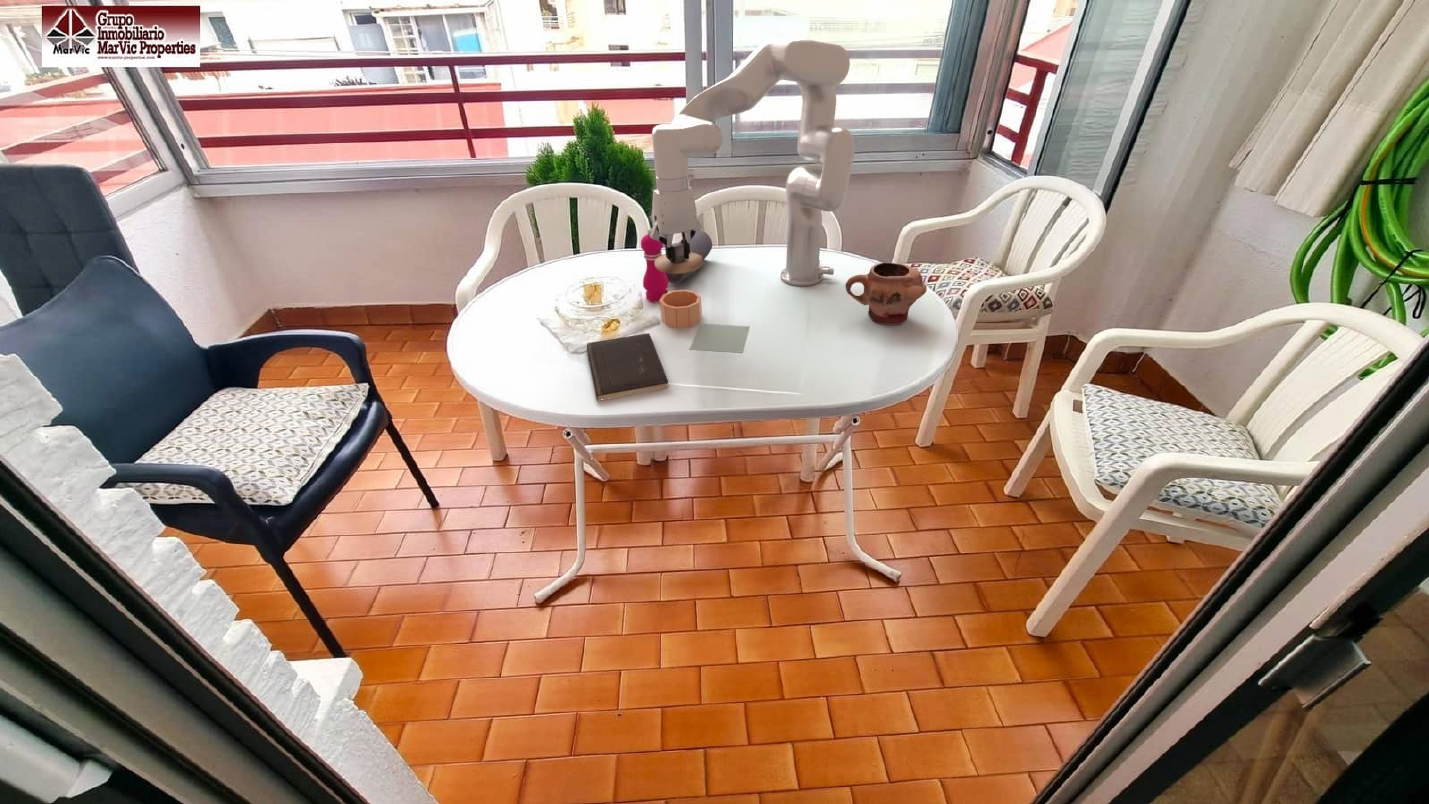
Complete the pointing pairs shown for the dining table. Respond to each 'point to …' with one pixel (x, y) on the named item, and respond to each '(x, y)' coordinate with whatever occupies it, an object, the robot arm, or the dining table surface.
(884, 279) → the terracotta clay mug
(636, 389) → the hardcover book
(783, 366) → the dining table surface
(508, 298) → the dining table surface
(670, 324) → the bowl
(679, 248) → the lid
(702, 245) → the bluetooth speaker
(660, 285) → the pepper mill
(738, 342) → the mat
